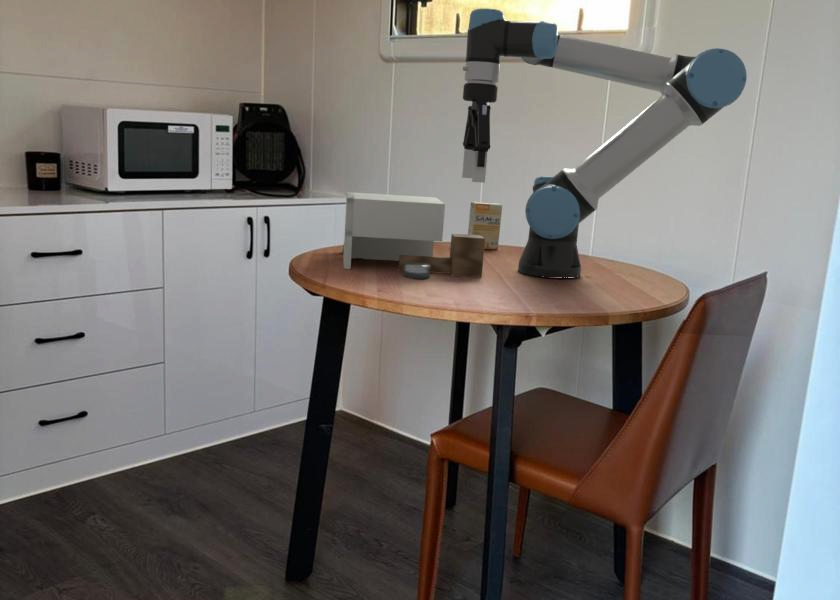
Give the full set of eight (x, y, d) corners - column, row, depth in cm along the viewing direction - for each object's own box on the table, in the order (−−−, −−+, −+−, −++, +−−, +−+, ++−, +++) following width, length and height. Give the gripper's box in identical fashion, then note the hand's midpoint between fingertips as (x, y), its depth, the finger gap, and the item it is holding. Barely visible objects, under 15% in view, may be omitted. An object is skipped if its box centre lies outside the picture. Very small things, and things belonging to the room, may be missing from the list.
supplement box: (470, 249, 225) (474, 202, 222) (466, 246, 230) (470, 201, 227) (498, 250, 227) (502, 204, 224) (493, 247, 231) (497, 202, 229)
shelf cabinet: (431, 261, 199) (436, 197, 195) (439, 273, 183) (445, 204, 180) (343, 257, 196) (346, 191, 193) (343, 268, 181) (347, 198, 177)
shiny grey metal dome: (427, 275, 181) (428, 262, 180) (431, 280, 175) (432, 267, 174) (401, 274, 180) (402, 261, 179) (404, 279, 174) (405, 266, 174)
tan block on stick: (477, 273, 188) (481, 235, 186) (481, 277, 183) (485, 238, 181) (397, 268, 186) (400, 230, 184) (399, 272, 181) (402, 233, 179)
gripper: (455, 84, 188) (448, 175, 192) (474, 79, 163) (465, 183, 168) (486, 87, 189) (479, 177, 193) (509, 81, 164) (500, 185, 169)
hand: (472, 180), depth 181 cm, fingers open, 13 cm apart
